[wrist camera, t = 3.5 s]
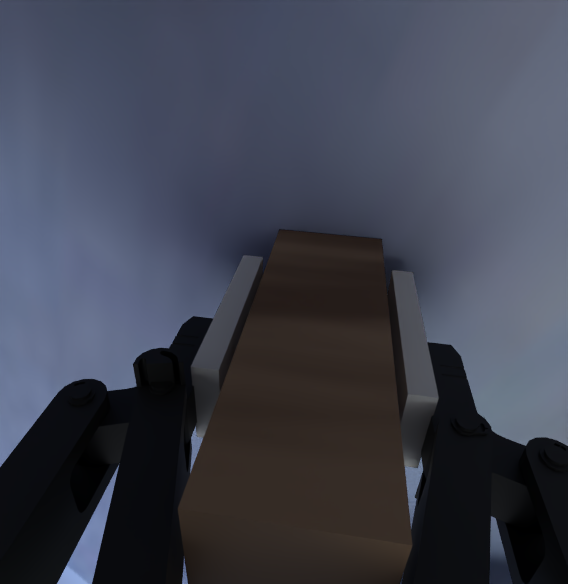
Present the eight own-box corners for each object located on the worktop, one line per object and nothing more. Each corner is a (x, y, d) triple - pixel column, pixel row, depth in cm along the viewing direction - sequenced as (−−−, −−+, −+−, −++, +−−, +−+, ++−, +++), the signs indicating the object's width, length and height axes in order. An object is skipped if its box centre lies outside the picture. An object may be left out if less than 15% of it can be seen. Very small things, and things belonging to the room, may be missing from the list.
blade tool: (279, 229, 18) (177, 508, 8) (381, 238, 18) (412, 545, 8) (268, 518, 28) (218, 801, 18) (332, 528, 28) (318, 823, 18)
